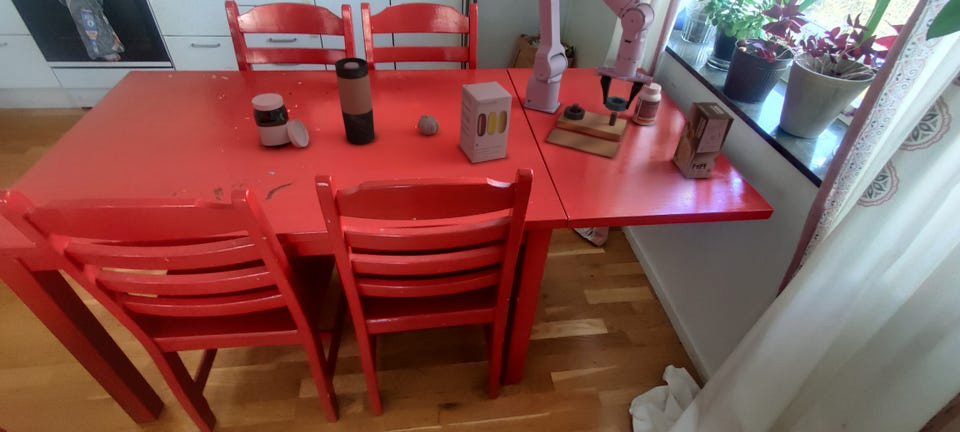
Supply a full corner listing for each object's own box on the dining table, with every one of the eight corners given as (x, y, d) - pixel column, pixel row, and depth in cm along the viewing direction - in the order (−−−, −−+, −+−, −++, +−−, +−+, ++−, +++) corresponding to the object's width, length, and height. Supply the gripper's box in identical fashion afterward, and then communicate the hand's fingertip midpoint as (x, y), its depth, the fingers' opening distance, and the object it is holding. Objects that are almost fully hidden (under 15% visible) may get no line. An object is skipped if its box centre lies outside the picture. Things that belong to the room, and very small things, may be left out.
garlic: (413, 134, 123) (412, 117, 120) (422, 126, 127) (421, 108, 124) (433, 139, 122) (433, 121, 118) (442, 130, 126) (442, 113, 122)
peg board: (556, 126, 131) (559, 108, 127) (565, 112, 138) (568, 95, 135) (619, 141, 126) (624, 123, 122) (625, 126, 133) (630, 109, 130)
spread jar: (260, 135, 119) (248, 92, 112) (306, 128, 123) (297, 87, 116) (263, 158, 111) (250, 114, 103) (312, 150, 114) (303, 107, 107)
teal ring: (603, 108, 124) (604, 102, 123) (607, 101, 128) (609, 94, 127) (624, 113, 123) (625, 107, 121) (627, 105, 127) (629, 99, 125)
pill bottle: (657, 123, 136) (669, 87, 129) (643, 127, 133) (654, 91, 126) (641, 114, 140) (651, 79, 133) (627, 119, 137) (637, 83, 130)
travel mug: (380, 134, 122) (373, 60, 110) (366, 148, 117) (356, 71, 104) (355, 128, 124) (345, 55, 112) (340, 141, 118) (327, 65, 106)
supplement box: (472, 164, 113) (475, 100, 103) (458, 146, 120) (460, 84, 109) (506, 157, 116) (513, 95, 106) (491, 140, 123) (496, 79, 112)
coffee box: (710, 178, 113) (736, 119, 103) (685, 178, 113) (709, 119, 103) (694, 158, 121) (716, 101, 110) (670, 158, 120) (691, 101, 110)
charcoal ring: (561, 117, 131) (562, 111, 130) (567, 109, 135) (568, 104, 134) (580, 122, 129) (582, 116, 128) (585, 114, 134) (586, 108, 132)
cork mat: (545, 141, 124) (545, 140, 123) (554, 129, 129) (554, 128, 129) (612, 158, 119) (612, 157, 118) (617, 144, 124) (618, 143, 124)
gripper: (596, 55, 116) (586, 105, 124) (655, 66, 112) (640, 117, 120) (602, 47, 121) (592, 95, 129) (659, 57, 117) (644, 107, 125)
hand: (615, 105), depth 125 cm, fingers closed on teal ring, 5 cm apart
